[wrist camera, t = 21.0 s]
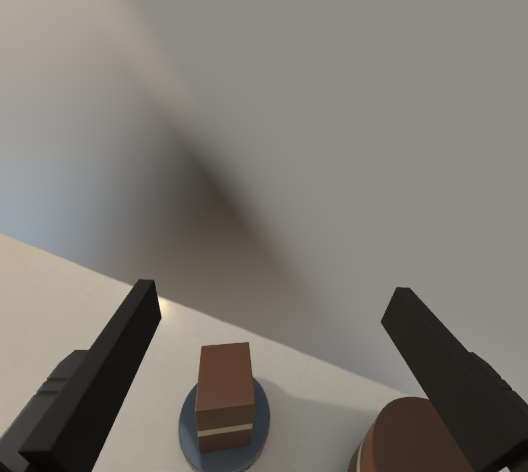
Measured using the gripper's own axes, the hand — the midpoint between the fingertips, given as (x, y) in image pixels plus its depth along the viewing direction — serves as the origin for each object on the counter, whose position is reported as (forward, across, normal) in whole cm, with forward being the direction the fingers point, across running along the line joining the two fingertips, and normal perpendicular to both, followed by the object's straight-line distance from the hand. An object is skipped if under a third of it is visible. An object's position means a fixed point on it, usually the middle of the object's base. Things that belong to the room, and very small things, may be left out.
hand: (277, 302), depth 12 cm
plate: (+4, -3, -22) cm, 22 cm away
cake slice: (+4, -3, -21) cm, 21 cm away
